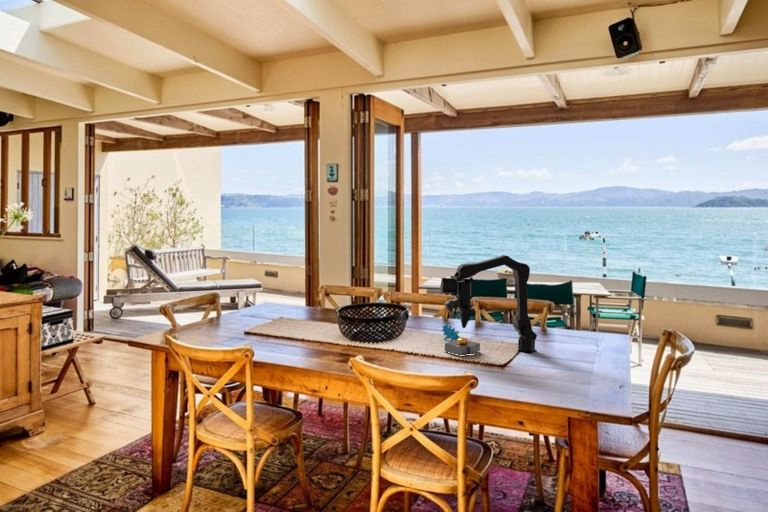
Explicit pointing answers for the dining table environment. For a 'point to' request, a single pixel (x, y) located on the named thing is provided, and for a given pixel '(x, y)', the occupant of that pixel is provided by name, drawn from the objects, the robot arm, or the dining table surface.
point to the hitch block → (462, 347)
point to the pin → (462, 341)
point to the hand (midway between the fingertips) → (463, 327)
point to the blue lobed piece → (450, 333)
